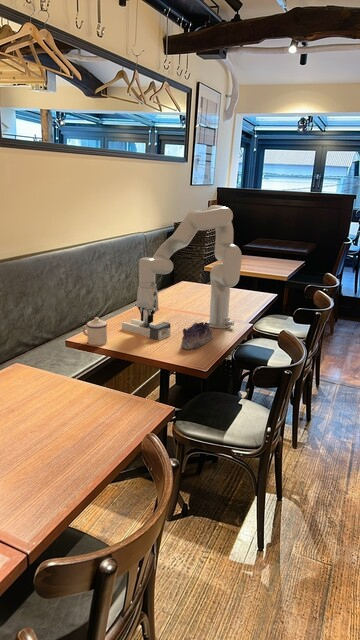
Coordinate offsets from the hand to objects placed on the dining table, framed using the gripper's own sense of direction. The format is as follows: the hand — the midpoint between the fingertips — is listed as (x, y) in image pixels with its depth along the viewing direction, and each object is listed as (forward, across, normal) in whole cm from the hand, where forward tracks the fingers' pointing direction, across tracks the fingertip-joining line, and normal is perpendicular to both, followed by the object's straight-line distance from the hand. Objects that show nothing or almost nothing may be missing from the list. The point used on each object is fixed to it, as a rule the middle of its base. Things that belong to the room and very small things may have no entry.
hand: (146, 321), depth 217 cm
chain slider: (+4, -2, 0) cm, 4 cm away
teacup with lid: (+6, +10, +25) cm, 28 cm away
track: (+6, +1, 0) cm, 6 cm away
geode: (+6, -26, -4) cm, 27 cm away
